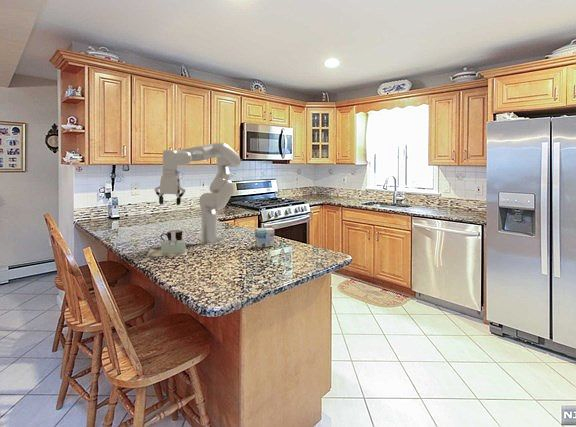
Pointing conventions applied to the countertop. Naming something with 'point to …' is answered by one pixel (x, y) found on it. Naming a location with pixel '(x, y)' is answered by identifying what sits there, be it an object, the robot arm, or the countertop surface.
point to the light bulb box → (264, 237)
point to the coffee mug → (177, 234)
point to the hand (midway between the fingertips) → (169, 204)
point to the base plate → (158, 253)
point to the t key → (173, 239)
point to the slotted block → (173, 247)
